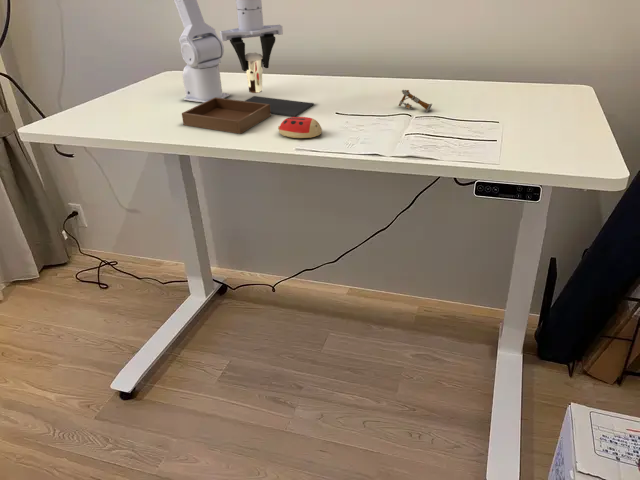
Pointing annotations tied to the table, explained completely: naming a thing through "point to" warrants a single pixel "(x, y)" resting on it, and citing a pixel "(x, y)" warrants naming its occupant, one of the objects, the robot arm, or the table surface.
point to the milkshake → (254, 71)
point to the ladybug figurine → (300, 127)
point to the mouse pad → (282, 106)
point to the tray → (226, 115)
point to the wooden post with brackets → (415, 99)
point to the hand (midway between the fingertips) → (255, 68)
